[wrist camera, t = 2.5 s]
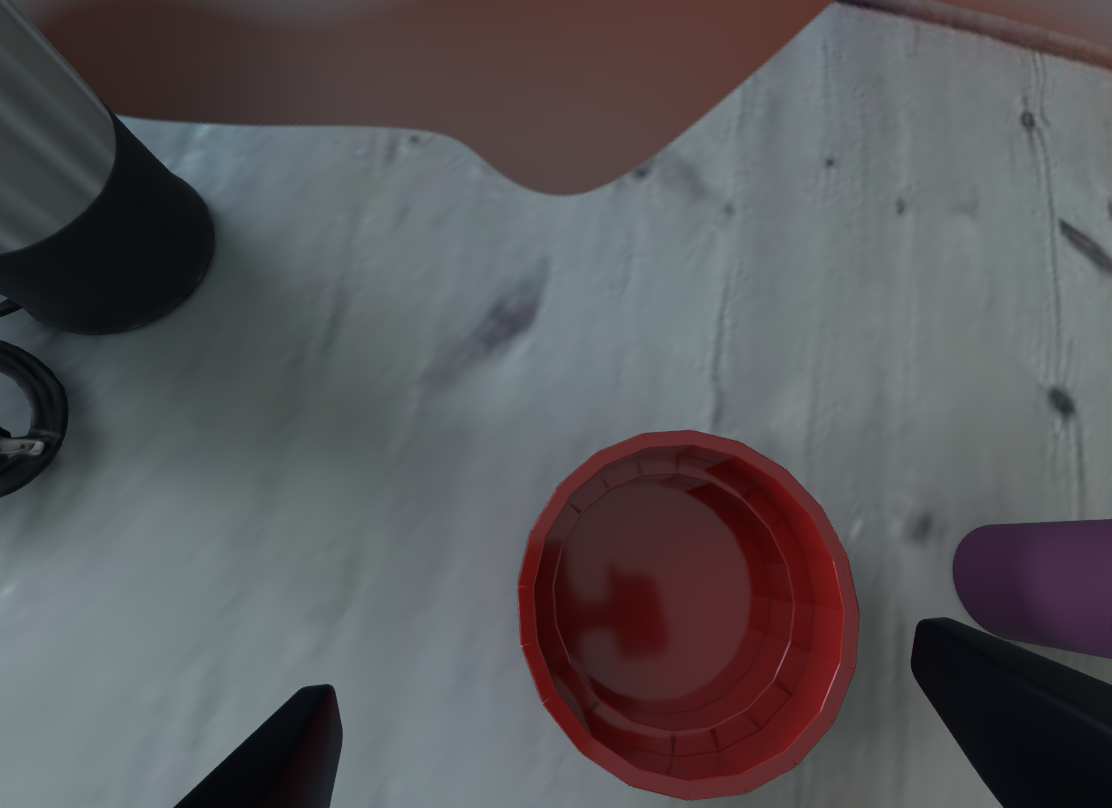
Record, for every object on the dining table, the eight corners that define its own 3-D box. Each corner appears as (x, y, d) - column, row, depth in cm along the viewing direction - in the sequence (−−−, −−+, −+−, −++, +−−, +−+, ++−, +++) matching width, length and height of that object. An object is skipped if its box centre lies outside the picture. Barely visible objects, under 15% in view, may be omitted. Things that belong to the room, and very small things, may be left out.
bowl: (821, 730, 22) (895, 776, 18) (528, 765, 21) (530, 821, 17) (767, 442, 25) (819, 421, 21) (510, 460, 24) (508, 441, 20)
